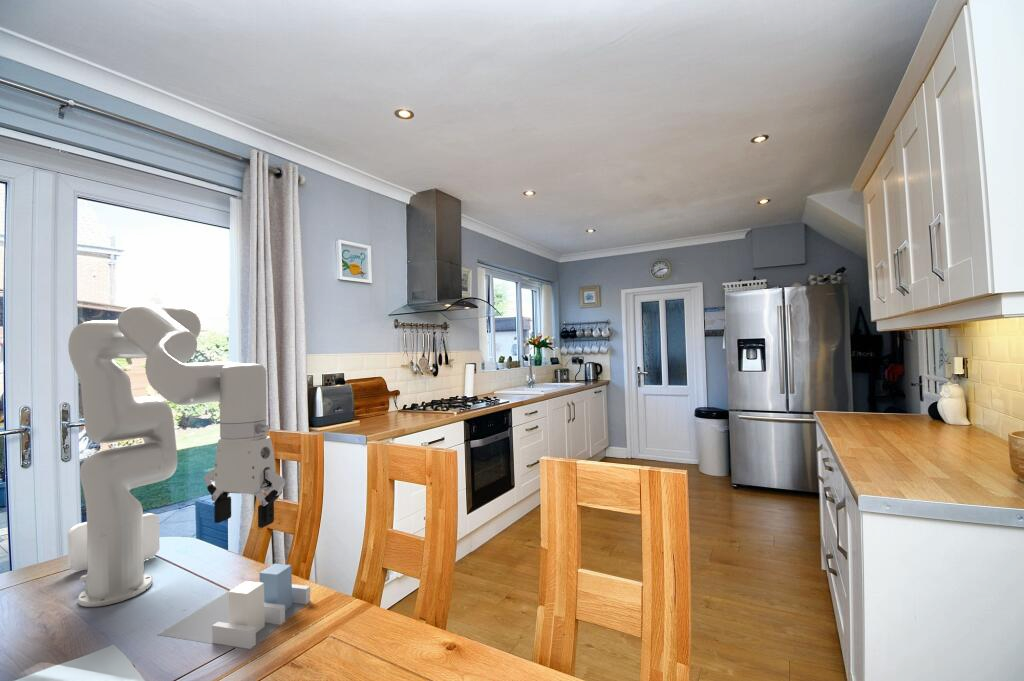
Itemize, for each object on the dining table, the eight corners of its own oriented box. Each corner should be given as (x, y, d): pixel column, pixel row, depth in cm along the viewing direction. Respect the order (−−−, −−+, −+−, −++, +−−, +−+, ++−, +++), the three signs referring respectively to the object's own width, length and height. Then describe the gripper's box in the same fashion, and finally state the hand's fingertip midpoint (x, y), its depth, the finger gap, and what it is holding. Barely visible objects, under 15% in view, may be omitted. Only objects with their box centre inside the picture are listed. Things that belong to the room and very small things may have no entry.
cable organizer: (88, 583, 110) (87, 532, 110) (66, 574, 114) (66, 525, 115) (160, 556, 123) (159, 511, 123) (138, 549, 128) (137, 506, 128)
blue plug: (260, 614, 92) (259, 572, 92) (275, 603, 96) (274, 563, 96) (277, 616, 91) (277, 574, 91) (292, 605, 95) (291, 565, 95)
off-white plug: (246, 623, 89) (246, 580, 89) (264, 626, 88) (264, 582, 88) (229, 636, 85) (228, 591, 85) (247, 639, 84) (247, 593, 84)
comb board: (157, 643, 86) (157, 618, 86) (230, 597, 102) (229, 576, 102) (249, 658, 81) (249, 631, 81) (311, 607, 97) (310, 585, 97)
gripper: (297, 428, 89) (298, 519, 89) (223, 425, 94) (223, 511, 94) (267, 436, 82) (268, 535, 82) (188, 432, 87) (188, 526, 87)
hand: (244, 522), depth 88 cm, fingers open, 9 cm apart
